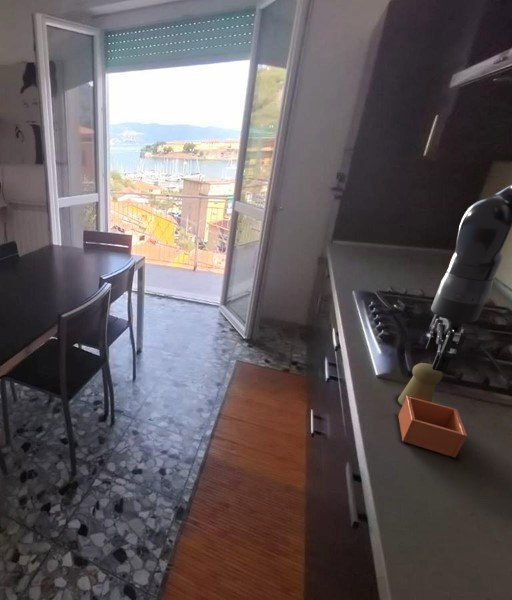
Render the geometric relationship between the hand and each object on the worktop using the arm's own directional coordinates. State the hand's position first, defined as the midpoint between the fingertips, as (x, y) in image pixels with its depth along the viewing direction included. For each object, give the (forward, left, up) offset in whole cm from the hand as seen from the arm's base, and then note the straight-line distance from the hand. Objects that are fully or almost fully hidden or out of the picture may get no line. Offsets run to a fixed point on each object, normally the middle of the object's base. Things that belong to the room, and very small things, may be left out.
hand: (434, 360), depth 80 cm
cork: (0, 0, -13) cm, 13 cm away
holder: (+9, +6, -13) cm, 17 cm away
